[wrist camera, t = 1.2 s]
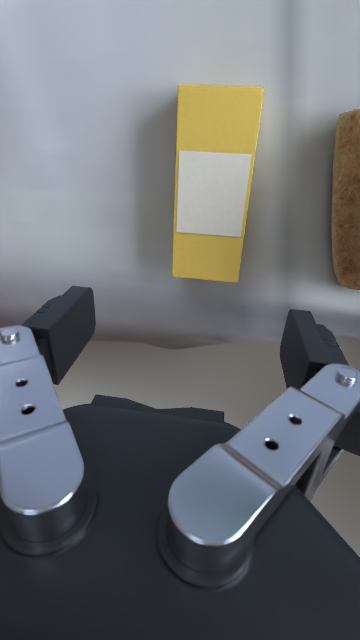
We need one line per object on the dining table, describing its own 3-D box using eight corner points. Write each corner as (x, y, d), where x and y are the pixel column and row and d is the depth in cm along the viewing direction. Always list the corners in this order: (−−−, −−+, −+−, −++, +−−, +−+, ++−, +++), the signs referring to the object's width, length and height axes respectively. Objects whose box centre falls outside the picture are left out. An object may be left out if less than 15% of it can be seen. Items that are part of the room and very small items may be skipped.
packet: (184, 89, 27) (177, 83, 24) (261, 92, 27) (264, 86, 24) (177, 264, 35) (171, 277, 32) (237, 269, 34) (237, 283, 31)
